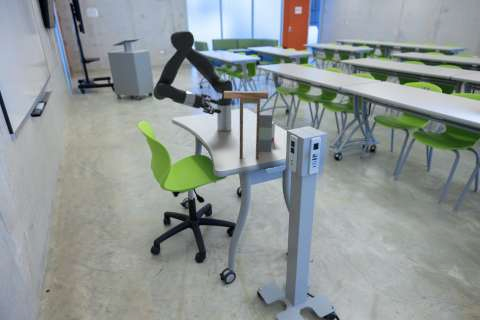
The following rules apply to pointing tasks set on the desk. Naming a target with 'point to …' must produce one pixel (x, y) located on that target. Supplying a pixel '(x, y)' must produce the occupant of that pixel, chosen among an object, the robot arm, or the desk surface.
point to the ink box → (273, 131)
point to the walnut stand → (253, 101)
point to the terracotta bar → (245, 94)
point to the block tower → (265, 131)
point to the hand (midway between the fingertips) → (219, 107)
